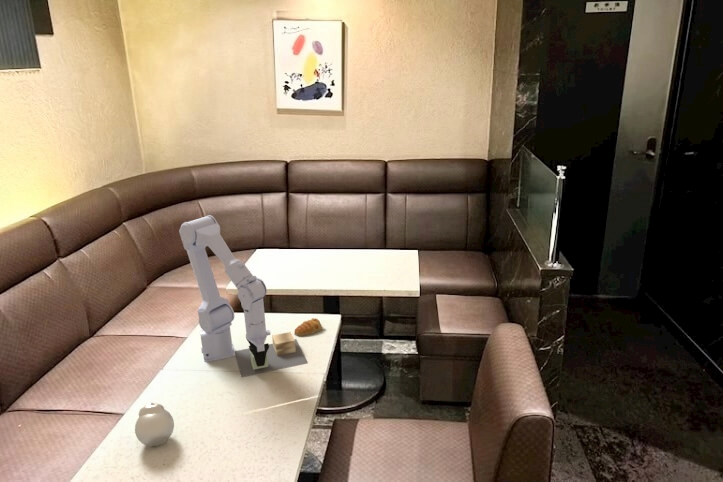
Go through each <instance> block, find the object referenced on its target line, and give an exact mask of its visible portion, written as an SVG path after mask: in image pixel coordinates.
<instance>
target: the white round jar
mask: <svg viewBox="0 0 723 482" xmlns="http://www.w3.org/2000/svg"><path fill="white" fill-rule="evenodd" d="M174 429H175V421H174V417H173V415H172V414H171V413H170V412H169V411H168V410H166V409H165V407H164V405H162V404H161V403H154V402H148V403H146V404H145V405H144V406H143V407H141V408H140V409H139V412H138V418H137V420H136V422H135V426H134V433H135V437H136V439H137V440H138V441H139V442H140V443H141V444H143V445H144V446H147V447H157V446H160V445H162V444H164V443H165V442H167V441H168V440H170V438H171V436H172V435H173V433H174Z"/></svg>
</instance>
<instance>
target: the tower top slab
mask: <svg viewBox="0 0 723 482" xmlns="http://www.w3.org/2000/svg"><path fill="white" fill-rule="evenodd" d="M271 338H272V344H273V343H274V346H275V348H276V350H279V349H284V348H289V347H294V346H295V340H294V339H295V338H294V336H293V334H292V332H291V331H289V332H283V333H279V334H278V333H277V334H275V335H274V334H273V335H272V337H271Z"/></svg>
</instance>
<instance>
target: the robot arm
mask: <svg viewBox="0 0 723 482" xmlns="http://www.w3.org/2000/svg"><path fill="white" fill-rule="evenodd" d="M178 233H179V237H180V239H181V242H182V245H183V249H184V251H185V250H186V253H187V256H188V260H189V262H190V266H191V268H192V271H193V275H194V277H195V281H196V283H197V284H196V285H197V286H198V291H199V293H200V297H201V299H202V302H201V304H200V305H199V307H198V309H197V310H196V311H197V314H198V323H199V327H200V328H201V330H199V335H200V336H199V337H200V340H201V341H200V342H201V347H200V349H201V351H200V352H201V354H203V361H204V362H205V363H206V362H207V363H208V362H211V361H217V360H222V359H226V358H230V357H233V358H234V357H236V355H235V351H236V350H235V347H234V344H233V340H232V333H231V332H232V331H231V326H233V324H232V322H233V321H234V320H235V312H234V308H233V307H232V306H231V304H230V302H229V299H228V298H225V297H223V296H221V295H220V292H219V289H218V286H217V283H216V279H215V276H214V273H213V272H214V271H213V270H212V266H211V263H210V259H209V257H208V253H207V251H206V247H208V248H209V249H210V250H211V251H212V252H213V254H214V255H215V256H216V257H217V258H218V259H219V261H220V262H221V263H222V264H223V265H224V273H225V274H226V276H227V277H228V278H229V279H230V281H231V283H232V284H233V286H235V288H236V289H237V290H238V291H237V292H236V294H237V298H238V300H239V301H240V303H241V308H242V309H243V314H244V324H245V325H244V326H245V338H246V340H247V342H248V344H249V345H248V348H249V349H250V351H251V352H252V354H253V355H254V358H255V362H256V365H257V367H259V366H264V364H265V358H266V353H267V351H268V349H269V344H270V343H266V340H267V337H268V336H270V335H271V330H270V329H267V325H266V318H265V317H266V316H265V314H266V313H265V306H264V297H265V296H267V292H268V291H267V290H268V289H267V286H266V283H264V280H262V279H261V278H259V277H257V276H256V275H253V274H252V272H251V270H249V268H248V267H247V266H246V264H245V263H244V262H243V260H242V259H238V258H235V256H234V254H233V253H232V251H231V249H230V248H229V246H228V245H227V243H226V241H225V240H224V238H223V236H222V235H221V225H220V224H219V223H218V221H217V220H216V218H215V216H213V215H210V214H209V215H206V216H203V217H200V218H197V219H194V220H188V221H184V222H183V223H182V224H181V226H180V228H179V230H178Z"/></svg>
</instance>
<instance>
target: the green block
mask: <svg viewBox="0 0 723 482" xmlns="http://www.w3.org/2000/svg"><path fill="white" fill-rule="evenodd" d="M250 356H251V363H252V367H253V370H254V369H259V368H264V367H268V358H267V353H266V358H265V364H264V366H259V367H257V365H256V362H255V358H254V355H253V354H252V352H251V351H250Z"/></svg>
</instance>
